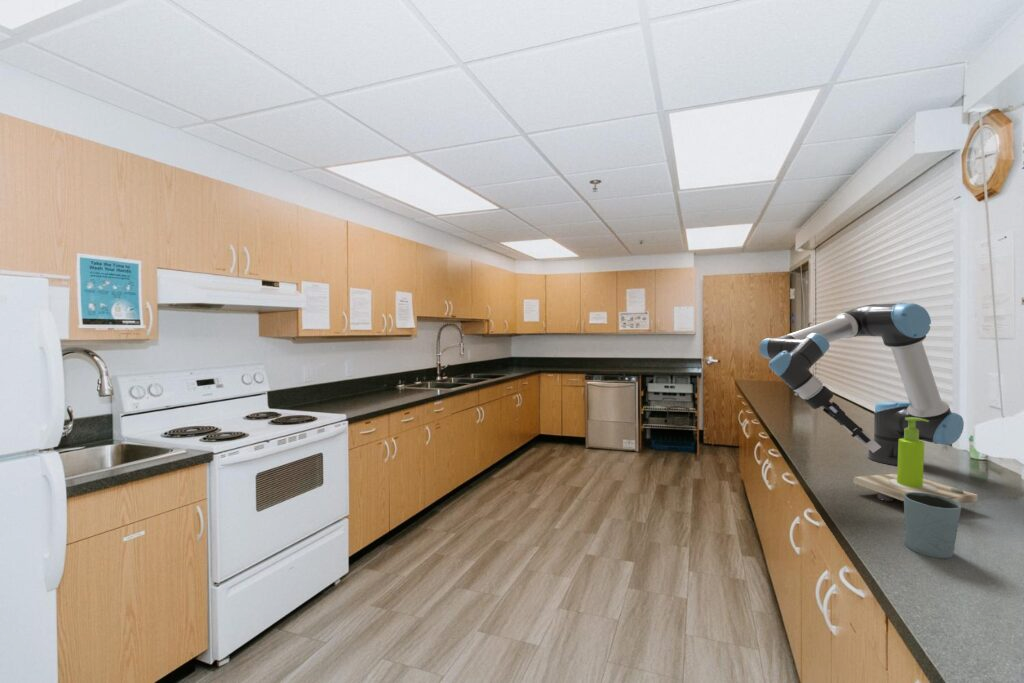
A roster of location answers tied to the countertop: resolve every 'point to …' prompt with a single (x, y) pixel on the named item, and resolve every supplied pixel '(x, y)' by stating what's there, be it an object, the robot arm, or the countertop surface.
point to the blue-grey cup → (930, 524)
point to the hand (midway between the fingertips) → (869, 444)
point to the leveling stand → (911, 488)
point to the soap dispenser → (911, 456)
